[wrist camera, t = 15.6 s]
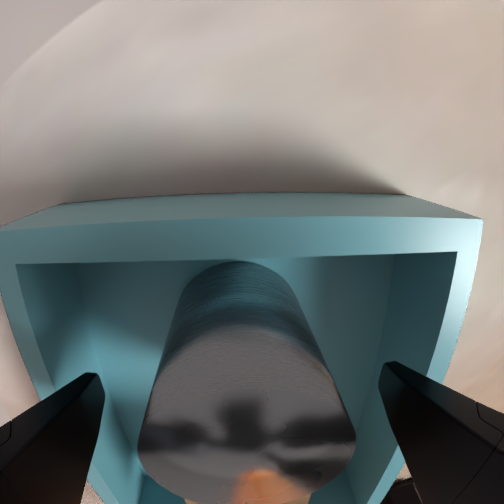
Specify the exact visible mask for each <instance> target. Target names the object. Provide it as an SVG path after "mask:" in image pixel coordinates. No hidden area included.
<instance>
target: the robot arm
mask: <svg viewBox="0 0 504 504" xmlns="http://www.w3.org/2000/svg"><path fill="white" fill-rule="evenodd" d="M378 389H379V392H380V395H381V398H382V402H383V405H384V408H385V411H386V415H387V418H388V421H389V424H390V427H391V429H392V432H393V434H394V436H395V438H396V441H397V443H398V445H399V448H400V450H401V452H402V455H403V457H404V460H405V462H406V464H407V467H408V469H409V472H410V474H411V476H412V480H409V481H406V482H403V483H399V484H396V485H393V486H391V487H390V489H389V491H388V492H387V494H386V495H385V497H384V498H383V500H382V501H381V503H380V504H504V414H503V413H501V412H498V411H496V410H494V409H492V408H489V407H487V406H485V405H483V404H481V403H479V402H476V401H475V400H473V399H471V398H468V397H466V396H464V395H462V394H460V393H458V392H456V391H454V390H452V389H450V388H448V387H446V386H444V385H442V384H440V383H438V382H436V381H434V380H432V379H430V378H428V377H426V376H424V375H422V374H420V373H419V372H417V371H415V370H413V369H411V368H409V367H407V366H405V365H403V364H401V363H399V362H397V361H390V362H385V363H384V364H383V366H382V369H381V373H380V377H379V381H378ZM104 404H105V391H104V388H103V385H102V382H101V379H100V376H99V375H98V374H97V373H92V372H85V373H84V374H82V375H81V376H79V377H77V378H76V379H74V380H73V381H71V382H70V383H68V384H67V385H65V386H64V387H62V388H60V389H59V390H57V391H56V392H54V393H53V394H51V395H50V396H48V397H47V398H45V399H43V400H42V401H40V402H39V403H37V404H36V405H34V406H33V407H31V408H29V409H28V410H26V411H25V412H23V413H22V414H20V415H18V416H17V417H15V418H14V419H12V421H9V422H7V423H6V424H4V425H3V426H1V427H0V504H80V503H81V499H82V495H83V491H84V487H85V483H86V479H87V476H88V472H89V468H90V465H91V461H92V457H93V454H94V450H95V447H96V444H97V440H98V436H99V431H100V425H101V419H102V414H103V409H104Z"/></svg>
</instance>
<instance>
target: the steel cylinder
mask: <svg viewBox="0 0 504 504" xmlns="http://www.w3.org/2000/svg"><path fill="white" fill-rule="evenodd" d="M355 447H356V433H355V429H354V427H353V424H352V422H351V420H350V417H349V415H348V413H347V410H346V408H345V406H344V403H343V401H342V399H341V396H340V394H339V392H338V389H337V387H336V385H335V382H334V380H333V378H332V376H331V373H330V371H329V369H328V366H327V364H326V362H325V360H324V357H323V355H322V353H321V351H320V348H319V346H318V344H317V342H316V339H315V337H314V335H313V333H312V330H311V328H310V326H309V324H308V321H307V319H306V317H305V315H304V312H303V310H302V308H301V306H300V304H299V301H298V299H297V297H296V295H295V293H294V291H293V289H292V288H291V286H290V285H289V284H288V282H287V281H286V280H285V279H284V278H283V277H281V276H280V275H279V274H278V273H276V272H275V271H273V270H271V269H269V268H267V267H265V266H263V265H259V264H256V263H251V262H243V261H234V262H226V263H221V264H218V265H215V266H212V267H210V268H208V269H206V270H204V271H202V272H201V273H199V274H198V275H196V276H195V277H194V278H193V279H192V280H191V281H190V282H189V283H188V284H187V286H186V287H185V289H184V290H183V292H182V293H181V296H180V298H179V301H178V304H177V307H176V310H175V313H174V316H173V319H172V323H171V326H170V329H169V332H168V335H167V339H166V342H165V345H164V348H163V352H162V355H161V358H160V362H159V365H158V369H157V372H156V376H155V379H154V382H153V386H152V390H151V393H150V397H149V400H148V404H147V408H146V411H145V415H144V419H143V422H142V426H141V430H140V434H139V438H138V444H137V451H138V457H139V460H140V463H141V464H142V466H143V468H144V470H145V471H146V472H147V473H148V474H149V476H150V477H151V478H152V479H153V480H154V481H156V482H157V483H158V484H159V485H161V486H162V487H163V488H165V489H167V490H168V491H170V492H172V493H174V494H176V495H178V496H180V497H182V498H185V499H187V500H190V501H193V502H197V503H200V504H283V503H286V502H290V501H293V500H296V499H299V498H301V497H304V496H306V495H308V494H311V493H313V492H315V491H316V490H318V489H320V488H322V487H323V486H325V485H326V484H328V483H329V482H330V481H332V480H333V479H334V478H335V477H337V476H338V475H339V474H340V473H341V472H342V471H343V469H344V468H345V467H346V466H347V464H348V463H349V461H350V460H351V458H352V456H353V454H354V451H355Z"/></svg>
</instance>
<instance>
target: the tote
mask: <svg viewBox="0 0 504 504" xmlns="http://www.w3.org/2000/svg"><path fill="white" fill-rule="evenodd" d="M482 227H483V219H481V218H478V217H475V216H472V215H469V214H466V213H464V212H461V211H458V210H454V209H451V208H448V207H445V206H442V205H439V204H436V203H432V202H429V201H426V200H422V199H419V198H416V197H412V196H409V195H393V194H367V193H327V192H255V193H214V194H188V195H167V196H150V197H134V198H120V199H108V200H96V201H84V202H74V203H64V204H58V205H56V206H53V207H50V208H47V209H45V210H42V211H39V212H37V213H34V214H31V215H29V216H26V217H24V218H21V219H19V220H16V221H14V222H11V223H9V224H6V225H4V226H1V227H0V293H1V296H2V300H3V303H4V307H5V310H6V313H7V317H8V320H9V323H10V326H11V329H12V332H13V335H14V338H15V340H16V343H17V346H18V349H19V351H20V354H21V356H22V359H23V361H24V364H25V366H26V369H27V371H28V373H29V376H30V378H31V380H32V383H33V385H34V387H35V389H36V391H37V394H38V396H39V398H40V400H41V401H42V400H43V399H45V398H47V397H48V396H50V395H51V394H53V393H54V392H56V391H57V390H59V389H60V388H62V387H64V386H65V385H67V384H68V383H70V382H71V381H73V380H74V379H76V378H77V377H79V376H81V375H82V374H84V373H85V372H92V373H97V374H98V375H99V376H100V379H101V382H102V385H103V388H104V391H105V404H104V409H103V414H102V419H101V425H100V431H99V436H98V440H97V444H96V447H95V450H94V454H93V457H92V461H91V465H90V468H89V472H88V476H87V480H88V482H89V483H90V485H91V486H92V487H93V489H94V490H95V491H96V493H97V494H98V496H99V497H100V498H101V499H102V501H103V502H104V503H105V504H186V502H185V500H184V498H182V497H180V496H178V495H176V494H174V493H172V492H170V491H168V490H167V489H165V488H163V487H162V486H161V485H159V484H158V483H157V482H156V481H154V480H153V479H152V478H151V477H150V476H149V474H148V473H147V472H146V471H145V470H144V468H143V466H142V464H141V463H140V460H139V457H138V451H137V444H138V438H139V434H140V430H141V426H142V422H143V419H144V415H145V411H146V408H147V404H148V400H149V397H150V393H151V390H152V386H153V382H154V379H155V376H156V372H157V369H158V365H159V362H160V358H161V355H162V352H163V348H164V345H165V342H166V339H167V335H168V332H169V329H170V326H171V323H172V319H173V316H174V313H175V310H176V307H177V304H178V301H179V298H180V296H181V293H182V292H183V290H184V289H185V287H186V286H187V284H188V283H189V282H190V281H191V280H192V279H193V278H194V277H195V276H196V275H198V274H199V273H201V272H202V271H204V270H206V269H208V268H210V267H212V266H215V265H218V264H221V263H226V262H234V261H243V262H251V263H256V264H259V265H263V266H265V267H267V268H269V269H271V270H273V271H275V272H276V273H278V274H279V275H280V276H281V277H283V278H284V279H285V280H286V281H287V282H288V284H289V285H290V286H291V288H292V289H293V291H294V293H295V295H296V297H297V299H298V301H299V304H300V306H301V308H302V310H303V312H304V315H305V317H306V319H307V321H308V324H309V326H310V328H311V330H312V333H313V335H314V337H315V339H316V342H317V344H318V346H319V348H320V351H321V353H322V355H323V357H324V360H325V362H326V364H327V366H328V369H329V371H330V373H331V376H332V378H333V380H334V382H335V385H336V387H337V389H338V392H339V394H340V396H341V399H342V401H343V403H344V406H345V408H346V410H347V413H348V415H349V417H350V420H351V422H352V424H353V427H354V429H355V433H356V447H355V451H354V454H353V456H352V458H351V460H350V461H349V463H348V464H347V466H346V467H345V468H344V469H343V471H342V472H341V473H340V474H339V475H338V476H337V477H335V478H334V479H333V480H332V481H330V482H329V483H328V484H326V485H325V486H323V487H322V488H320V489H318V490H316V491H315V492H313V493H311V496H310V499H309V502H308V504H380V503H381V501H382V500H383V498H384V497H385V495H386V494H387V492H388V491H389V489H390V487H391V486H392V484H393V482H394V481H395V479H396V477H397V476H398V474H399V472H400V471H401V469H402V467H403V465H404V464H405V460H404V457H403V455H402V452H401V450H400V448H399V445H398V443H397V441H396V438H395V436H394V434H393V432H392V429H391V427H390V424H389V421H388V418H387V415H386V411H385V408H384V405H383V402H382V398H381V395H380V392H379V389H378V381H379V377H380V373H381V369H382V366H383V364H384V363H385V362H390V361H397V362H399V363H401V364H403V365H405V366H407V367H409V368H411V369H413V370H415V371H417V372H419V373H420V374H422V375H424V376H426V377H428V378H430V379H432V380H434V381H436V382H438V383H440V384H442V383H443V380H444V378H445V375H446V372H447V370H448V367H449V364H450V361H451V358H452V355H453V352H454V349H455V346H456V343H457V340H458V337H459V333H460V330H461V327H462V323H463V320H464V316H465V312H466V309H467V305H468V301H469V297H470V293H471V288H472V284H473V279H474V274H475V269H476V264H477V259H478V253H479V247H480V241H481V234H482Z"/></svg>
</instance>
